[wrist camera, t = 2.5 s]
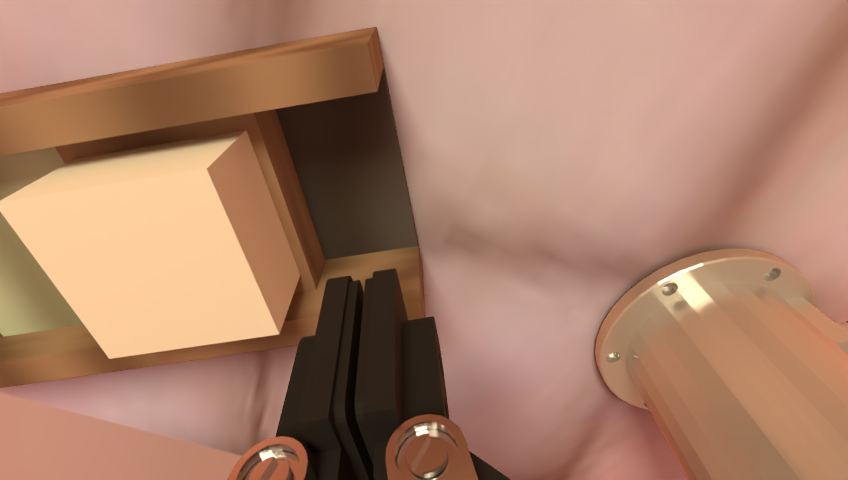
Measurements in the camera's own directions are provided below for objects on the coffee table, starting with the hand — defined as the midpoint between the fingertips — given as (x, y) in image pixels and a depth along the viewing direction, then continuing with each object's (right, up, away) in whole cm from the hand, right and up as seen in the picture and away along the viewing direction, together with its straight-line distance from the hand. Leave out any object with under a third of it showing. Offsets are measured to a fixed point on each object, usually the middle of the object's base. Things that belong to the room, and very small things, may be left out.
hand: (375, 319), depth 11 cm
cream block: (-9, +3, +8) cm, 12 cm away
